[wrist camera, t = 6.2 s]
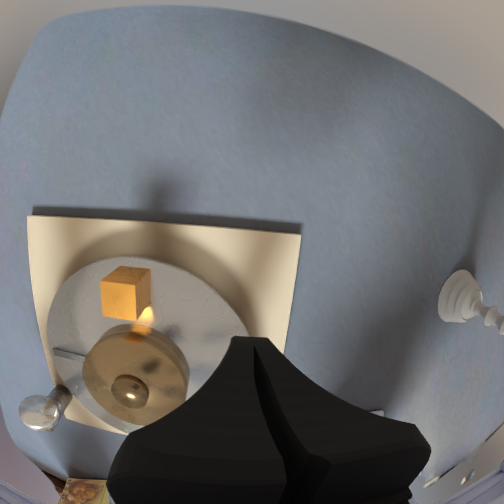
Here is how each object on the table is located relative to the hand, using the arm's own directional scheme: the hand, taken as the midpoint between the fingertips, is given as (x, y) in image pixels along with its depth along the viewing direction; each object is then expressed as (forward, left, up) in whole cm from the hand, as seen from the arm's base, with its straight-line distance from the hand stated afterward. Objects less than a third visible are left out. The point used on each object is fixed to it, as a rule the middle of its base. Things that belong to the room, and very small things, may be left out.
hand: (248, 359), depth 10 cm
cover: (+6, +6, -7) cm, 12 cm away
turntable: (+6, +7, -8) cm, 12 cm away
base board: (+6, +7, -9) cm, 13 cm away
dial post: (+15, +13, -9) cm, 22 cm away
